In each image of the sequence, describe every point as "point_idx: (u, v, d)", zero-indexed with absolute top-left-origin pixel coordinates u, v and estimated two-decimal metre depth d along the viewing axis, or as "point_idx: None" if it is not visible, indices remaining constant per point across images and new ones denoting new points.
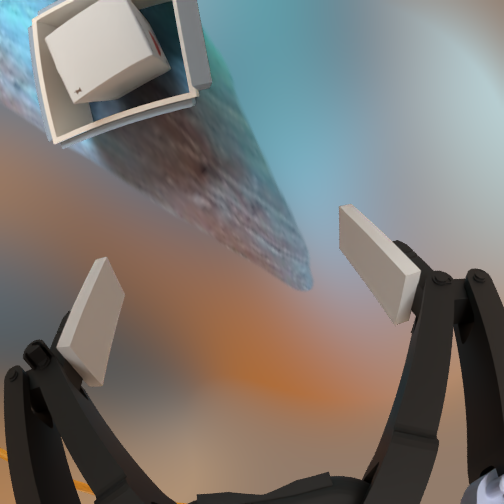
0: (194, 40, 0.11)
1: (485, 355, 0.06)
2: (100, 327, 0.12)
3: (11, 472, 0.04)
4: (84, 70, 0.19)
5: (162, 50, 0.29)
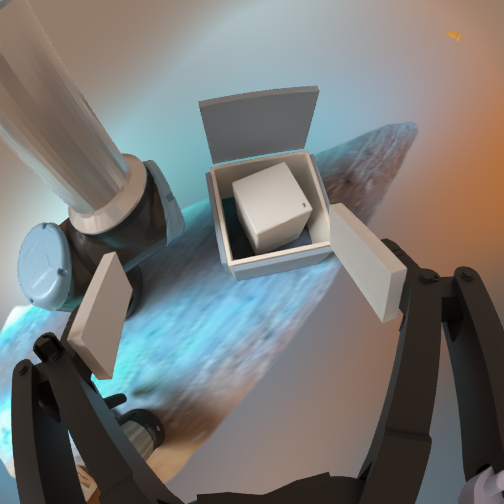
0: (299, 89, 0.32)
1: (476, 353, 0.07)
2: (109, 321, 0.12)
3: (16, 467, 0.05)
4: (290, 200, 0.41)
5: None
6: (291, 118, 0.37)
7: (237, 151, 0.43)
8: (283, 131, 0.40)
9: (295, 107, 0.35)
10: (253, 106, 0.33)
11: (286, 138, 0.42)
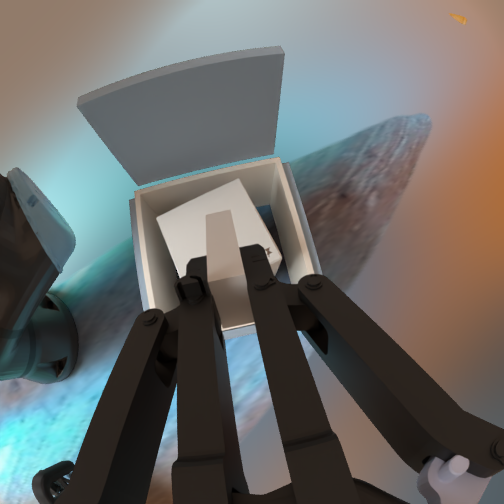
0: (248, 53, 0.17)
1: (357, 363, 0.08)
2: None
3: (92, 423, 0.06)
4: (245, 244, 0.25)
5: None
6: (242, 107, 0.22)
7: (168, 166, 0.28)
8: (233, 128, 0.24)
9: (245, 86, 0.19)
10: (167, 91, 0.18)
11: (241, 140, 0.26)
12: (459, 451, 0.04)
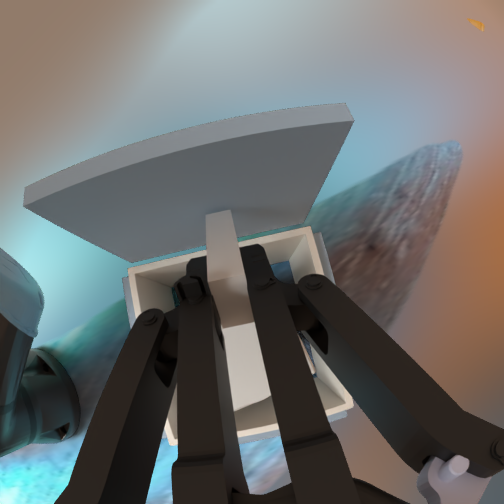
0: (295, 116, 0.11)
1: (357, 363, 0.08)
2: None
3: (92, 423, 0.06)
4: None
5: None
6: (274, 186, 0.16)
7: (168, 246, 0.22)
8: (258, 208, 0.19)
9: (283, 164, 0.14)
10: (159, 178, 0.12)
11: (266, 216, 0.21)
12: (459, 451, 0.04)
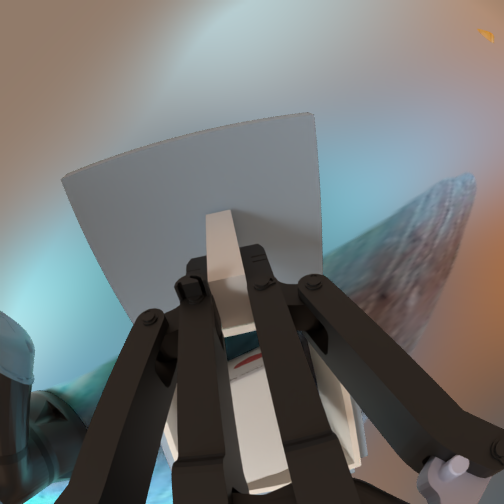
0: (269, 118, 0.15)
1: (358, 363, 0.08)
2: None
3: (92, 423, 0.06)
4: None
5: (249, 352, 0.32)
6: (272, 208, 0.18)
7: None
8: (264, 249, 0.19)
9: (272, 171, 0.16)
10: (169, 172, 0.15)
11: (277, 272, 0.20)
12: (459, 451, 0.04)
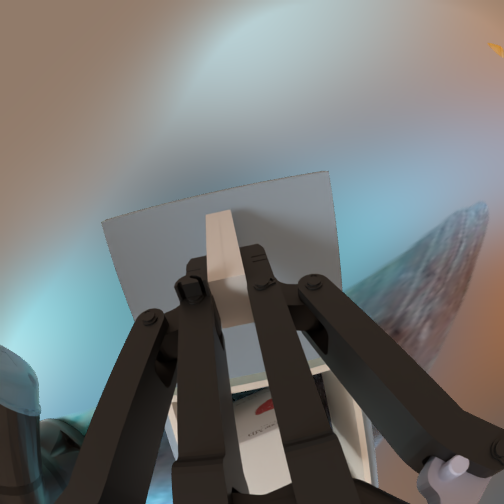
0: (290, 177, 0.18)
1: (357, 363, 0.08)
2: None
3: (92, 423, 0.06)
4: None
5: (266, 390, 0.31)
6: (295, 260, 0.19)
7: None
8: None
9: (294, 224, 0.19)
10: (202, 223, 0.18)
11: None
12: (459, 451, 0.04)
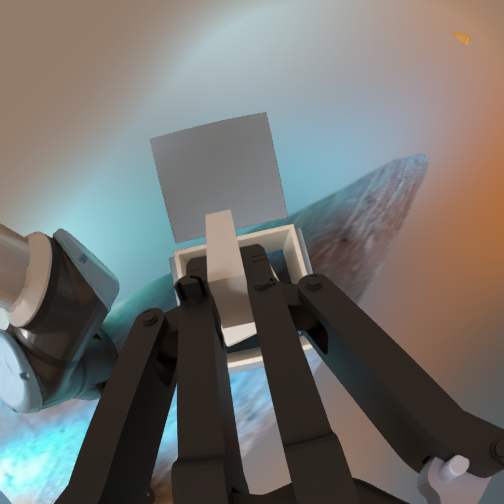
0: (246, 116, 0.34)
1: (357, 363, 0.08)
2: None
3: (92, 423, 0.06)
4: None
5: None
6: (250, 157, 0.35)
7: (201, 220, 0.37)
8: (248, 180, 0.36)
9: (249, 138, 0.35)
10: (202, 138, 0.34)
11: (256, 195, 0.37)
12: (459, 451, 0.04)
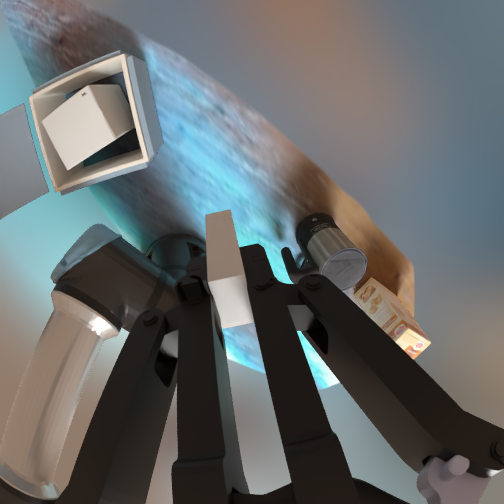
0: None
1: (357, 363, 0.08)
2: None
3: (92, 423, 0.06)
4: (79, 109, 0.29)
5: None
6: None
7: (29, 174, 0.33)
8: None
9: None
10: None
11: (7, 133, 0.28)
12: (459, 451, 0.04)
